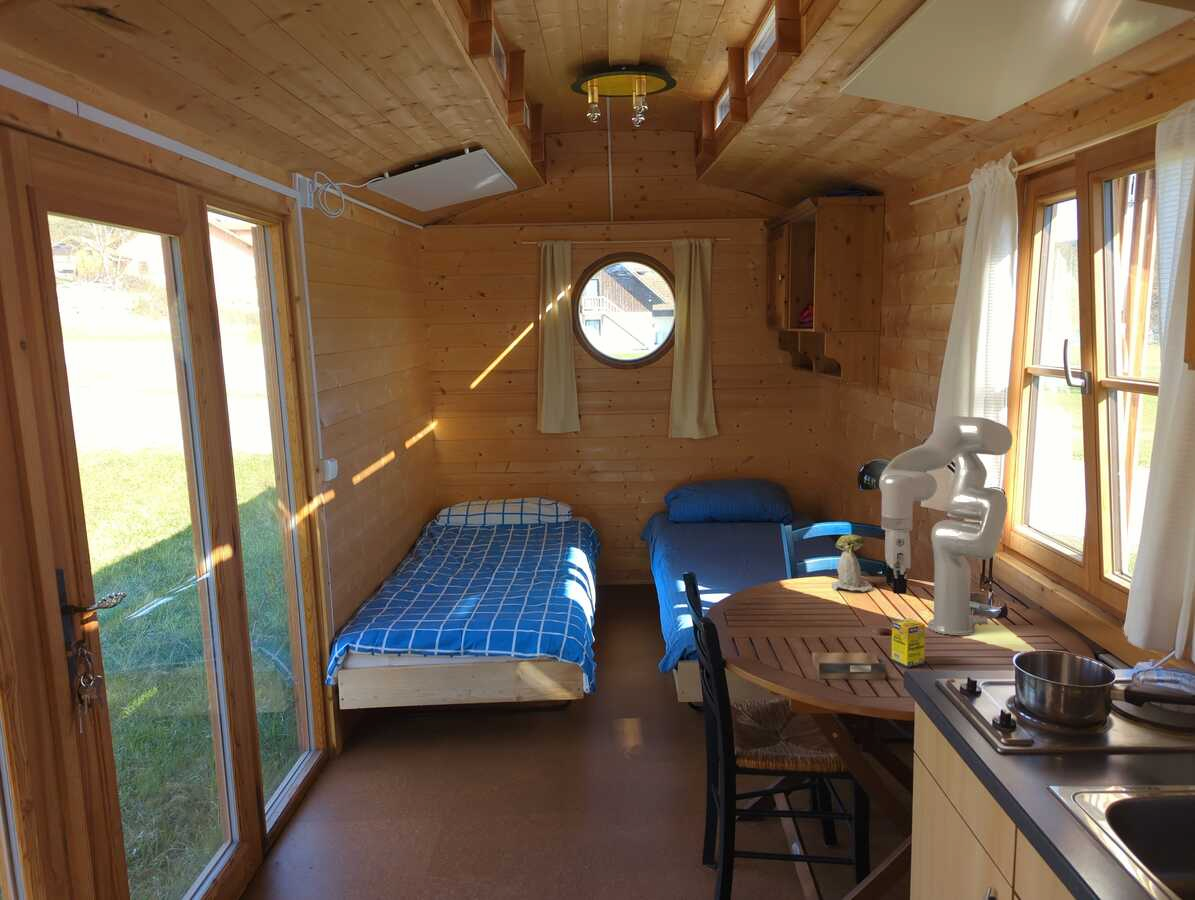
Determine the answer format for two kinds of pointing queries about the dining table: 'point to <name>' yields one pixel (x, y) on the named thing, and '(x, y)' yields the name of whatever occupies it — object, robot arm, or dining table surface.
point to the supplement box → (908, 643)
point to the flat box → (848, 666)
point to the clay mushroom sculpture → (850, 565)
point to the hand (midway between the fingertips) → (895, 587)
